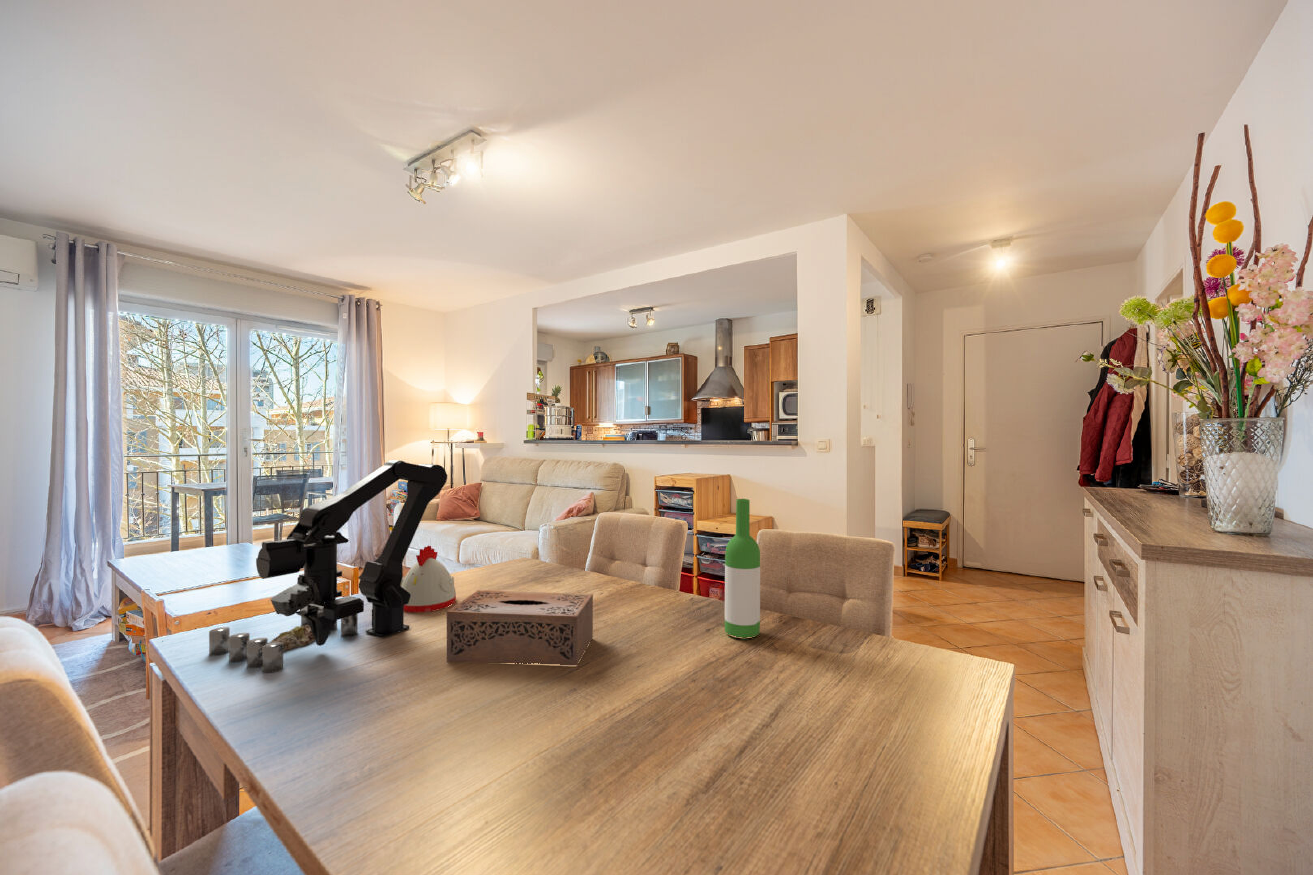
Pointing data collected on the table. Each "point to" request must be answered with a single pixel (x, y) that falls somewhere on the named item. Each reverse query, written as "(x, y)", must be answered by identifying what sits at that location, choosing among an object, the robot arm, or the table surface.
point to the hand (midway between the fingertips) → (320, 644)
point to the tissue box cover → (520, 628)
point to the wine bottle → (742, 578)
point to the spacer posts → (262, 645)
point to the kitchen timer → (428, 584)
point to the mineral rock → (295, 637)
